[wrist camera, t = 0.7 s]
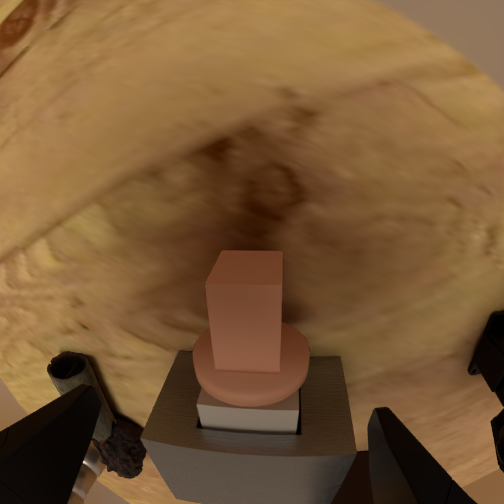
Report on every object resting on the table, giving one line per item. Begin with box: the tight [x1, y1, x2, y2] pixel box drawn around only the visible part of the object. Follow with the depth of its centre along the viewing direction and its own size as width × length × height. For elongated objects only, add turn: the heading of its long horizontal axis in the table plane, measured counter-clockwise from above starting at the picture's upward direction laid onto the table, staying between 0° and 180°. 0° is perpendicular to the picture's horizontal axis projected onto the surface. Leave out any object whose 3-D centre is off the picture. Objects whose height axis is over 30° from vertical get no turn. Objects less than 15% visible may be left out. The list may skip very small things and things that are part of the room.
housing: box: [140, 351, 357, 504], centre depth 19 cm, size 12×10×8 cm
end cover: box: [193, 250, 310, 435], centre depth 17 cm, size 6×15×6 cm, turn 1°
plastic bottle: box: [68, 440, 106, 504], centre depth 22 cm, size 6×7×20 cm
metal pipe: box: [47, 351, 147, 479], centre depth 25 cm, size 18×7×6 cm, turn 4°
